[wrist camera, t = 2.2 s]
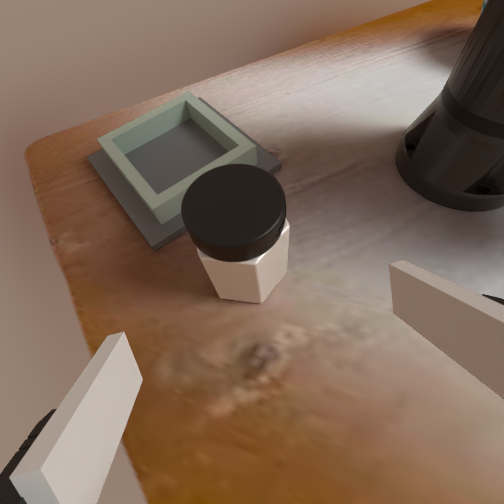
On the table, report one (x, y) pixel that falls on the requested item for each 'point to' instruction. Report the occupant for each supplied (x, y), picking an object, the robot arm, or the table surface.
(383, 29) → the table surface
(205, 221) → the jar
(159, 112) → the green and grey tray
